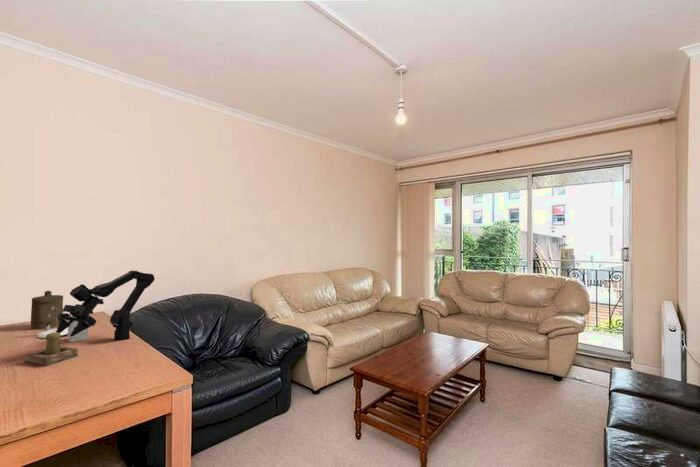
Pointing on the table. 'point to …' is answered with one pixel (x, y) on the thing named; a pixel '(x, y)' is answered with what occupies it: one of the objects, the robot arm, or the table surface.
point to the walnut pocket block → (51, 356)
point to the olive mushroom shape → (52, 343)
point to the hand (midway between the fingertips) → (63, 335)
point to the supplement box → (79, 336)
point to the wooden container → (45, 310)
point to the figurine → (47, 327)
